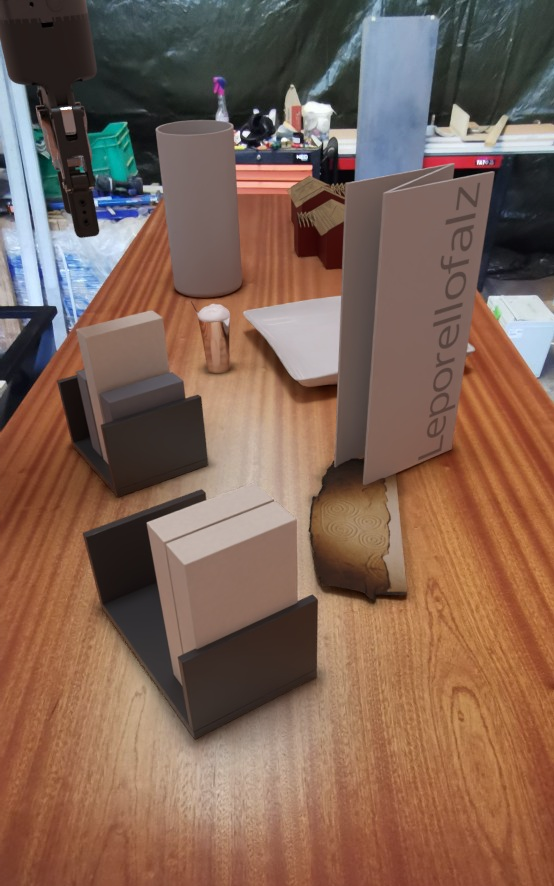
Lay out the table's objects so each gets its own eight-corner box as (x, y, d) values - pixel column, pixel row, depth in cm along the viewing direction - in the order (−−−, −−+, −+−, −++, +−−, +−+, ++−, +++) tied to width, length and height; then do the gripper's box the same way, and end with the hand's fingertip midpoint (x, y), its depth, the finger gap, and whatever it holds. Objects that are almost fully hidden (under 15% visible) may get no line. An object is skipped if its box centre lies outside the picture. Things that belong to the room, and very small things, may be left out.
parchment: (407, 601, 70) (408, 594, 69) (304, 596, 71) (304, 590, 70) (395, 466, 88) (396, 459, 88) (314, 463, 89) (314, 456, 88)
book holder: (194, 740, 59) (167, 578, 48) (101, 607, 71) (61, 453, 60) (317, 676, 64) (319, 515, 52) (210, 562, 76) (192, 411, 64)
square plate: (475, 373, 106) (479, 347, 103) (295, 405, 100) (295, 378, 98) (396, 307, 125) (398, 284, 123) (242, 331, 120) (240, 307, 117)
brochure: (364, 486, 84) (385, 193, 65) (333, 467, 88) (344, 183, 68) (451, 449, 91) (494, 171, 71) (419, 432, 94) (452, 163, 75)
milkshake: (199, 362, 111) (192, 294, 105) (234, 362, 111) (230, 294, 104) (196, 375, 108) (188, 306, 101) (232, 375, 108) (227, 306, 101)
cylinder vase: (166, 297, 132) (145, 135, 115) (184, 274, 141) (168, 120, 124) (234, 300, 130) (223, 135, 113) (248, 276, 139) (240, 120, 122)
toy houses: (279, 220, 165) (277, 169, 158) (368, 214, 167) (371, 163, 160) (316, 291, 132) (316, 230, 125) (427, 282, 134) (433, 221, 127)
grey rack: (117, 497, 85) (99, 410, 77) (72, 446, 94) (52, 364, 86) (208, 465, 90) (199, 380, 82) (157, 419, 98) (145, 339, 91)
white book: (112, 469, 88) (85, 337, 77) (103, 459, 89) (75, 328, 79) (179, 446, 91) (163, 317, 80) (169, 437, 93) (151, 309, 82)
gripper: (-10, 7, 65) (36, 209, 76) (-2, 18, 55) (50, 250, 66) (76, 2, 66) (109, 201, 77) (99, 12, 56) (133, 239, 67)
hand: (82, 223), depth 71 cm, fingers open, 8 cm apart
